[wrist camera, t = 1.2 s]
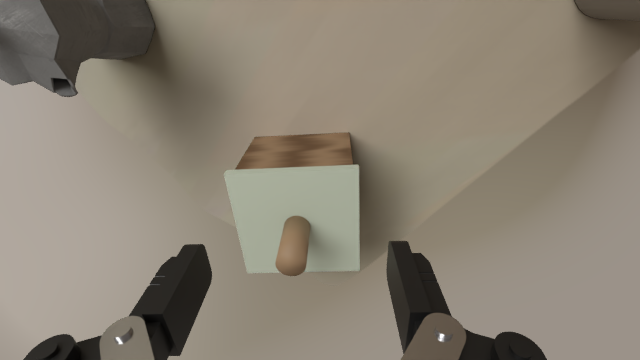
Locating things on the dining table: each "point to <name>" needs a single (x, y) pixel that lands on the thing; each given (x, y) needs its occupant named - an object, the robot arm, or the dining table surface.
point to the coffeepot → (68, 38)
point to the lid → (297, 218)
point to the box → (297, 151)
